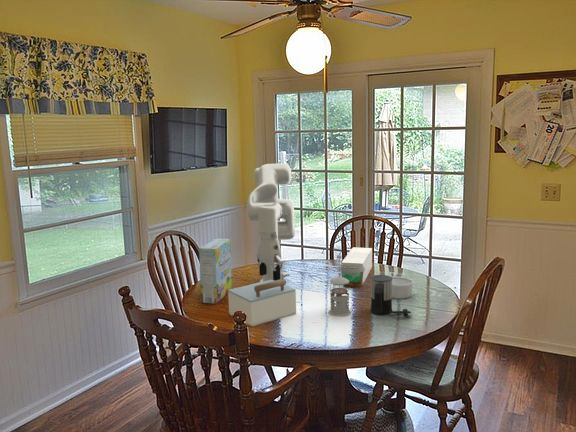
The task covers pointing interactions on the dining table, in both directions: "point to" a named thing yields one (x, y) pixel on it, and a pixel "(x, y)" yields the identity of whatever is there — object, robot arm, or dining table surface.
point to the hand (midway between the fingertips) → (269, 277)
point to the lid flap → (262, 290)
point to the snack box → (215, 270)
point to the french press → (339, 297)
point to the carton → (264, 307)
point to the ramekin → (401, 287)
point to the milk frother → (382, 295)
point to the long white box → (359, 260)
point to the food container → (353, 276)
